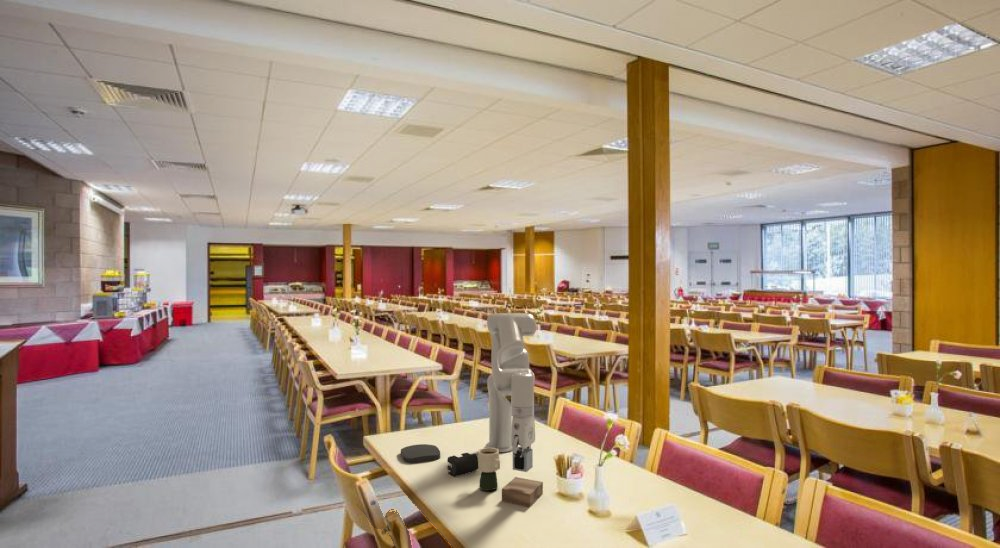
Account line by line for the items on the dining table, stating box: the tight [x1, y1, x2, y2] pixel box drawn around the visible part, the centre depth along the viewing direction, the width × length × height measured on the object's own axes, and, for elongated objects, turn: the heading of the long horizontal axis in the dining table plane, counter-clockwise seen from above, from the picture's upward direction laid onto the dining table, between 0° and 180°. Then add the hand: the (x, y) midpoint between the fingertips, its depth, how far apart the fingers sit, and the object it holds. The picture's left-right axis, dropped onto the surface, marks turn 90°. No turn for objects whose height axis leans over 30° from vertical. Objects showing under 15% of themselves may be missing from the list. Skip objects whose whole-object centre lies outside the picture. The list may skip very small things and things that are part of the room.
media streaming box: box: [400, 443, 441, 464], centre depth 214 cm, size 15×15×3 cm
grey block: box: [512, 448, 534, 473], centre depth 174 cm, size 5×5×6 cm
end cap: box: [446, 452, 479, 478], centre depth 195 cm, size 10×7×7 cm
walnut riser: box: [501, 476, 544, 508], centre depth 174 cm, size 11×10×4 cm
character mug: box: [477, 447, 501, 491], centre depth 181 cm, size 11×7×13 cm, turn 43°
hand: (522, 465), depth 174 cm, fingers closed on grey block, 5 cm apart
